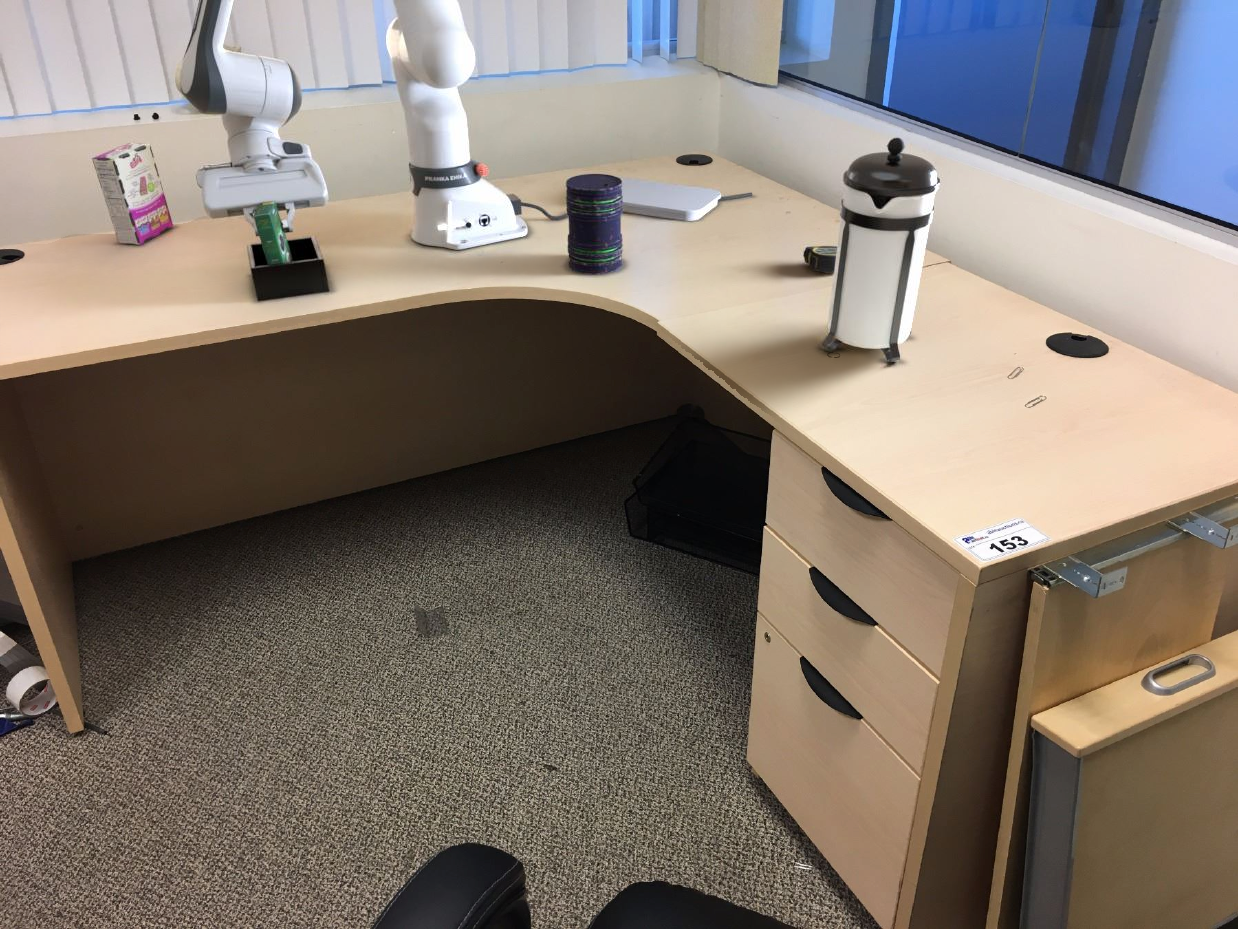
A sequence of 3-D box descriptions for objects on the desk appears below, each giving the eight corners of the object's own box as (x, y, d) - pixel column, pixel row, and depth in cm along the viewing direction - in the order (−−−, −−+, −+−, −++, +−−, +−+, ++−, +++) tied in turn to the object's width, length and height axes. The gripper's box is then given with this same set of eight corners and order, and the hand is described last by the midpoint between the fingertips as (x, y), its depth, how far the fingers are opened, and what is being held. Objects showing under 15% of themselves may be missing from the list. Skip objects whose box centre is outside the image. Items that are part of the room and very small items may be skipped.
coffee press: (943, 356, 137) (986, 146, 121) (845, 371, 134) (875, 155, 117) (883, 311, 151) (914, 117, 135) (792, 323, 148) (813, 125, 131)
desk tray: (320, 266, 169) (315, 235, 166) (329, 291, 159) (323, 259, 156) (253, 275, 166) (246, 244, 163) (257, 301, 156) (250, 268, 153)
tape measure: (839, 262, 170) (841, 242, 168) (850, 276, 164) (852, 255, 162) (802, 263, 170) (804, 243, 168) (811, 277, 164) (814, 256, 162)
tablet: (696, 223, 189) (697, 212, 187) (582, 206, 198) (581, 195, 197) (724, 201, 201) (725, 190, 200) (615, 186, 211) (615, 176, 209)
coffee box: (280, 274, 165) (258, 201, 158) (297, 272, 166) (275, 198, 158) (274, 292, 159) (251, 216, 151) (292, 289, 159) (269, 213, 152)
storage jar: (556, 265, 169) (553, 181, 161) (594, 251, 175) (593, 170, 167) (596, 279, 164) (594, 193, 156) (634, 264, 170) (634, 181, 162)
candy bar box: (152, 225, 189) (128, 141, 180) (174, 227, 188) (152, 142, 179) (116, 244, 180) (90, 156, 171) (139, 245, 179) (114, 158, 170)
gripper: (190, 155, 155) (206, 231, 153) (317, 143, 162) (334, 216, 159) (196, 175, 161) (212, 249, 159) (319, 163, 168) (335, 233, 165)
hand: (274, 232), depth 159 cm, fingers closed on coffee box, 3 cm apart
